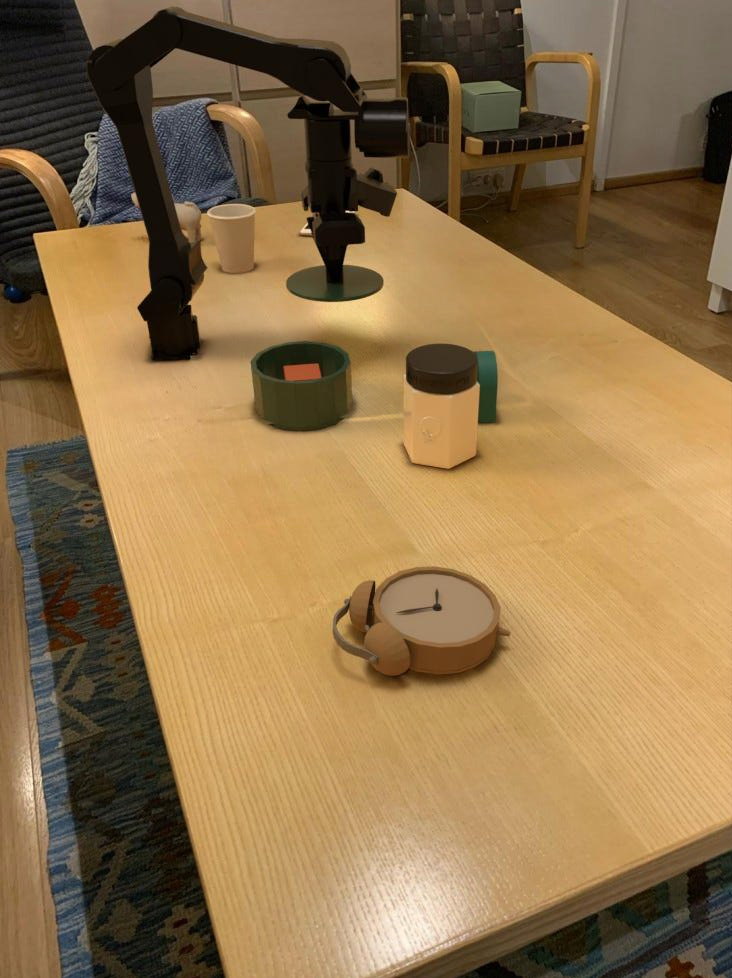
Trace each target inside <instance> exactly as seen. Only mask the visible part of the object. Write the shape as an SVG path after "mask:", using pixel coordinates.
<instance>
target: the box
mask: <svg viewBox="0 0 732 978" xmlns="http://www.w3.org/2000/svg"><path fill="white" fill-rule="evenodd" d="M284 378H285V380H289V381H303V380H315V379H318V378H322V377H321V373H320V368H319V364H318V363H317V364H304V365H290V366H284Z"/></svg>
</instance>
